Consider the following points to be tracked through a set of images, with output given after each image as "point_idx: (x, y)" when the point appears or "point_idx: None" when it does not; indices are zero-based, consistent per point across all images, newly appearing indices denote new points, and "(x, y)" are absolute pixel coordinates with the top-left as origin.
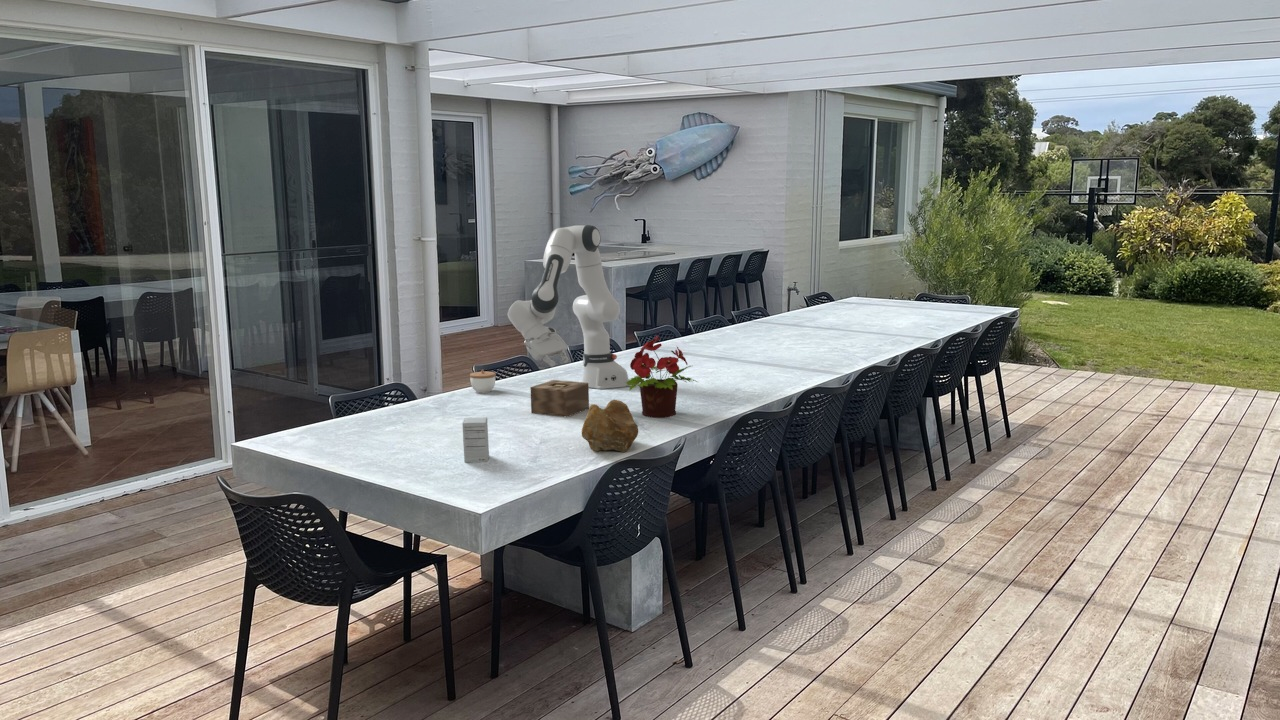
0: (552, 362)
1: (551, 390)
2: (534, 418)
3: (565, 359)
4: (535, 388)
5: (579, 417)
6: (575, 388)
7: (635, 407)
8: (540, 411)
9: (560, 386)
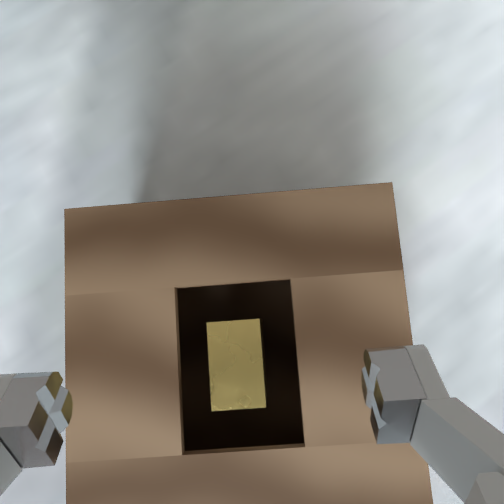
0: (435, 367)
1: (405, 321)
2: (472, 363)
3: (46, 400)
4: (427, 485)
5: (330, 165)
6: (260, 195)
7: (16, 53)
8: None
9: (260, 339)
